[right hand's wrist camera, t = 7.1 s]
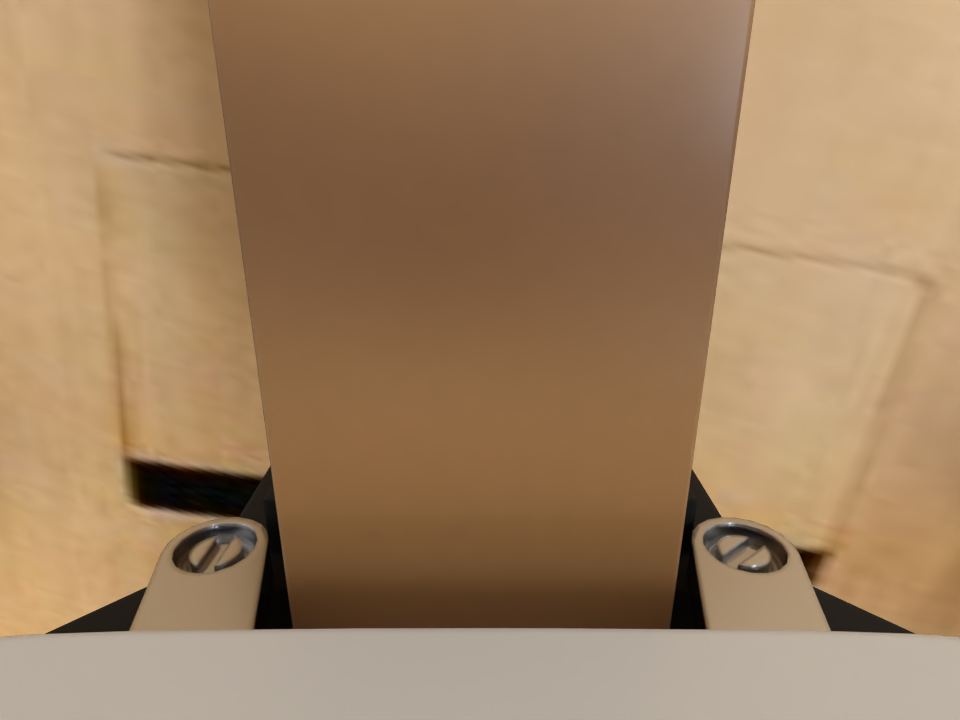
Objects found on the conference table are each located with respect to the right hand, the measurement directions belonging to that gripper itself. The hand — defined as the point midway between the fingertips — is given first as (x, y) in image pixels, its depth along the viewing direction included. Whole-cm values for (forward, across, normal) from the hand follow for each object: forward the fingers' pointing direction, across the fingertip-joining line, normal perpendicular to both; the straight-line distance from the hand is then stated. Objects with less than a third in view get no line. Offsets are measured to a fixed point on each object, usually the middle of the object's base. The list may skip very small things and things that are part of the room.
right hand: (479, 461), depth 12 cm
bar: (+3, 0, -29) cm, 29 cm away
